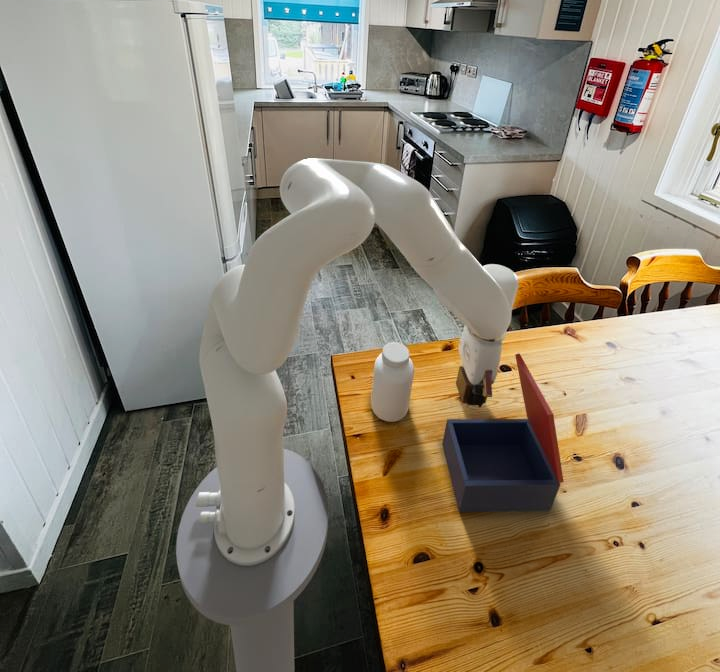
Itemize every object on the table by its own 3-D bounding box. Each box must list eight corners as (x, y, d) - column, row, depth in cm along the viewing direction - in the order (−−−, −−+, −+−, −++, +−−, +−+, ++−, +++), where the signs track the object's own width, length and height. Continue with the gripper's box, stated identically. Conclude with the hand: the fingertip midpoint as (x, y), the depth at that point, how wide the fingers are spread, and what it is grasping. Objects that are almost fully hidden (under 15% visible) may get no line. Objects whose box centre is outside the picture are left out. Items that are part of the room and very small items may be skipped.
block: (462, 403, 82) (466, 385, 80) (455, 383, 87) (459, 366, 85) (485, 403, 82) (490, 385, 81) (477, 383, 87) (482, 366, 85)
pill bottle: (381, 429, 77) (387, 372, 72) (364, 396, 84) (368, 342, 78) (415, 415, 81) (424, 360, 75) (396, 385, 87) (403, 332, 82)
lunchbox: (458, 512, 65) (465, 486, 62) (442, 443, 75) (446, 418, 73) (550, 510, 66) (560, 484, 63) (520, 443, 76) (528, 418, 74)
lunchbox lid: (548, 415, 57) (553, 414, 57) (514, 354, 67) (519, 353, 67) (558, 483, 63) (563, 482, 63) (527, 417, 74) (531, 416, 74)
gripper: (456, 297, 85) (443, 361, 92) (482, 357, 70) (465, 429, 76) (489, 298, 86) (474, 361, 93) (523, 358, 70) (502, 429, 77)
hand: (470, 391), depth 84 cm, fingers closed on block, 5 cm apart
